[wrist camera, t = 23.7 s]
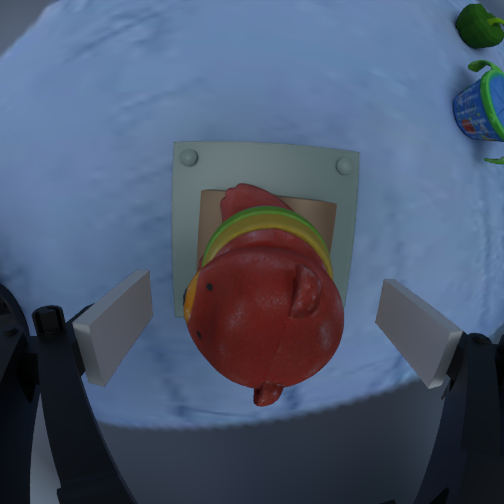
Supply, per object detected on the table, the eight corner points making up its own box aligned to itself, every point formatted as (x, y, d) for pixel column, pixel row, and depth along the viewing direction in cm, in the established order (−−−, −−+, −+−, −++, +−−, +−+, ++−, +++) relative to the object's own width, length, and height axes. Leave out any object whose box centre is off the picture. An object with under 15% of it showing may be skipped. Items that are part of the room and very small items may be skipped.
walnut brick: (205, 272, 34) (195, 290, 28) (210, 189, 32) (201, 190, 26) (311, 282, 34) (322, 301, 28) (322, 200, 32) (337, 204, 26)
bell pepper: (449, 36, 26) (482, 15, 16) (449, 9, 24) (477, -12, 14) (483, 63, 26) (517, 49, 16) (481, 35, 24) (511, 19, 15)
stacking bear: (230, 176, 26) (181, 157, 8) (329, 216, 26) (441, 268, 9) (193, 280, 28) (120, 401, 11) (286, 313, 29) (317, 455, 11)
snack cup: (438, 62, 27) (476, 41, 17) (482, 84, 27) (520, 72, 17) (445, 155, 31) (493, 152, 21) (489, 170, 31) (532, 172, 21)
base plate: (176, 313, 36) (173, 320, 34) (176, 143, 31) (171, 140, 29) (339, 319, 36) (343, 326, 34) (356, 153, 31) (362, 151, 29)
